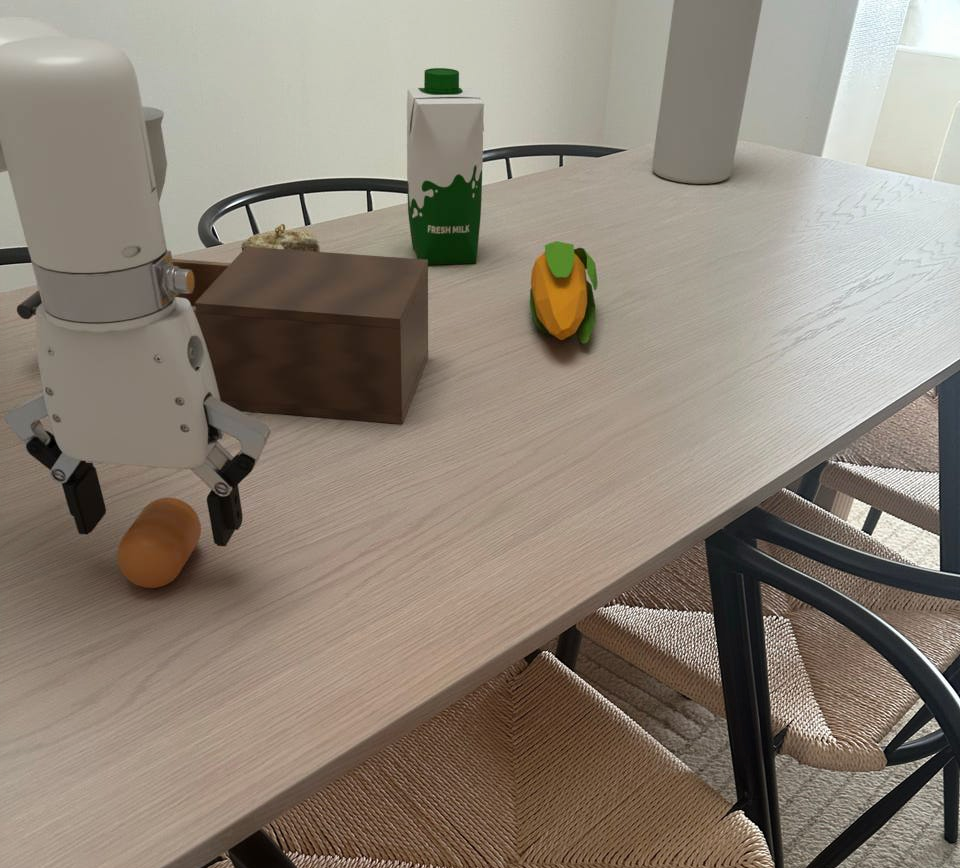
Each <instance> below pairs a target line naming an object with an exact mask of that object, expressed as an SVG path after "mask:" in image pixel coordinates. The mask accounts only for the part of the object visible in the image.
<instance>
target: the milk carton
mask: <svg viewBox="0 0 960 868" xmlns="http://www.w3.org/2000/svg"><path fill="white" fill-rule="evenodd" d="M423 75H424V79H423V82H424V83H423V85H424V86H423V87H417V88H407V98H406V174H407V175H406V176H407V177H406V178H407V179H406V181H407V214H408V216H407V217H408V222H409V229H410V231H409V232H410V239H411V246H412V249H413V251H414V253H415V255H416V257H417V259H425V260H428V266H438V265H440V266H443V265H465V264H467V265H468V264H477V260H478V249H479V240H480V239H479V238H480V230H481V229H480V228H481V219H482V218H481V217H482V216H481V214H482V199H483V197H482V193H483V192H482V191H483V165H484V164H483V163H484V132H485V124H484V123H485V122H484V114H485V113H484V111H485V110H484V108H485V103H484V102H483V101H482V99H481V97H480V95H479V94H477V93H476V92H475V91H473V89H472V88H467V87H465V88H461V87H460V71H459V70H457V69H454V68H445V67H433V68H427V69H425V70H424V74H423Z"/></svg>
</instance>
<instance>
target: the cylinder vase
mask: <svg viewBox="0 0 960 868" xmlns="http://www.w3.org/2000/svg"><path fill="white" fill-rule="evenodd" d="M762 7H763V0H673V4H672V12H671V19H670V28H669V34H668V42H667V50H666V57H665V65H664V72H663V81H662V87H661V96H660V103H659V104H660V105H659V110H658V118H657V126H656V133H655V140H654V149H653V155H652V164H651V167H652V171H653V173H655V175H657V176H658V177H660V178H663V179H665V180H669V181H672V182H675V183H676V182H677V183H681V184H682V183H683V184H692V185H706V184H707V185H710V184H717V183H721V182H723V181H725V180H727V179H729V178H730V177H731V175H732V173H733V171H732V170H733V167H734V161H735V156H736V149H737V145H738V140H739V135H740V134H739V133H740V128H741V123H742V122H741V121H742V117H743V111H744V105H745V101H746V94H747V89H748V85H749V84H748V83H749V77H750V73H751V66H752V61H753V57H754V56H753V55H754V51H755V50H754V49H755V45H756V37H757V33H758V28H759V22H760V16H761V11H762Z"/></svg>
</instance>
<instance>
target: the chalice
mask: <svg viewBox="0 0 960 868" xmlns="http://www.w3.org/2000/svg"><path fill="white" fill-rule="evenodd" d="M142 108H143V114H144V120H145V125H146V131H147V137H148V143H149V148H150V154H151V160H152V165H153V171H154V177H155V183H156V188H157V194H158V200H159V202H160V201H161V197H162V194H163V190H164V186H165V183H166V175H167V169H168V168H167V167H168V159H167V154H166V147H165V141H164V140H165V139H164V135H163V127H162V124H163V123H162V122H163V119H164V116H165V112H164V111H163V110H161V109H159V108H156V107H151V106H142Z"/></svg>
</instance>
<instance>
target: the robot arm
mask: <svg viewBox="0 0 960 868" xmlns="http://www.w3.org/2000/svg"><path fill="white" fill-rule="evenodd" d="M140 91H141V90H140V86H139V81H138V77H137V72H136V69H135V68H134V64H133V63H132V62H131V60H130V58H129V57H128V55H127V54H126V53H125V52H124V51H123V50H122V49H121V48H120V47H118V46H117V45H115V44H114V43H111V42H108V41H105V40H102V39H97V38H92V37H80V36H70V35H68V34H67V33H65V32H63V31H62V30H60V29H59V28H57V27H56V26H54V25H52V24H51V23H48V22H46V21H44V20H41V19H38V18H34V17H29V16H20V15H15V16H14V15H10V16H9V15H8V16H6V15H5V16H0V173H3V172H7V173H8V177H9V180H10V184H11V188H12V192H13V196H14V200H15V204H16V209H17V212H18V215H19V219H20V223H21V227H22V231H23V235H24V239H25V243H26V246H27V250H28V253H29V257H30V262H31V265H32V269H33V273H34V277H35V280H36V281H35V282H36V285H37V289H38V290H39V293H40V296H41V300H42V304H40V305H39V306H38V308H37V309H36V315H35V337H36V338H35V339H36V341H35V343H36V353H37V362H38V370H39V377H40V383H41V388H42V392H40V393H38V394H36V395H33V396H31V397H30V398H28V399H26V400H24V401H22V402H20V403H18V404H16V405H15V406H14V407H13V408H11V409H10V410H9V411H8V412H7V413H6V414H5V415H4V421H5V422H6V424H7V425H8V426H9V427H10V429H11V430H12V431H13V433H14V434H15V435H16V436H17V438H19V440H20V441H21V442H24V444H25V449H26V451H27V453H28V454H29V455H30V456H31V457H33V458H34V459H35V460H37V461H38V462H39V463H40V464H42V465H43V466H44V467H45V468H47V469H48V470H49V476H50V477H51V479H52V480H53V481H55V482H56V483H58V484H61V486H62V489H63V493H64V497H65V500H66V504H67V508H68V511H69V514H70V516H71V517H73V519H74V523H75V527H76V530H77V533H78V534H79V535H86V536H87V535H89V534H91V533H92V532H93V530H94V529H95V528H96V527H97V526H98V524H99V523H100V522H101V521H102V519H103V518H104V516H105V515H106V514H107V507H106V504H105V499H104V495H103V492H102V487H101V483H100V480H99V475H98V472H97V471H98V470H97V468H96V467H95V465H94V463H96V464H97V463H98V464H107V465H110V464H111V465H119V466H131V467H132V466H133V467H145V468H155V469H156V468H159V469H173V470H190V471H192V473H194V475H196V476H197V477H198V478H199V479H200V480H201V481H202V482H203V484H205V485H206V486H207V487H208V488H209V489H210V491H209V493H208V495H207V496H206V504H207V511H208V516H209V521H210V527H211V534H212V537H213V543H214V544H215V545H216V546H217V547H227V545H228V544H229V541H230V540H231V538H232V536H233V535H234V533H235V531H238V530H240V528H241V525H242V523H243V510H242V502H241V497H240V495H241V494H240V489H239V484H240V483H241V482H242V481H243V480H244V479H246V478H247V477H248V476H249V475H250V473H252V471H253V470H254V468H255V466H256V465H257V463H258V462H259V459H260V457H261V454H262V452H263V450H264V448H265V447H266V444H267V441H268V440H269V438H270V435H271V429H270V427H269V426H268V425H267V424H265V423H263V422H261V421H260V420H258V419H256V418H254V417H252V416H250V415H248V414H247V413H244V412H243V411H241V410H237V409H235V408H233V407H231V406H229V405H227V404H225V403H223V402H222V401H221V400H220V396H219V391H218V387H217V383H216V379H215V375H214V371H213V367H212V363H211V360H210V356H209V353H208V350H207V346H206V343H205V340H204V337H203V334H202V332H201V329H200V326H199V323H198V321H197V318H196V316H195V313H194V311H193V308H192V306H191V304H190V302H189V300H187V299H185V298H180V297H176V296H177V295H180V294H181V293H192V292H193V290H194V286H195V280H194V275H193V272H192V270H189V269H180V267H178V266H174V264H173V261H172V259H173V257H172V255H173V254H172V251H171V250H168V248H167V243H166V236H165V231H164V224H163V219H162V212H161V207H160V201H159V200H158V194H157V188H156V183H155V177H154V171H153V165H152V160H151V154H150V148H149V143H148V137H147V131H146V125H145V120H144V114H143V108H142V107H143V103H142V98H141V92H140ZM46 417H48V421H49V425H50V428H51V431H52V432H50V431H49V430H46V429H45V428H44V425H43V424H42V423H41V420H42V419H44V418H46ZM225 434H226V435H228V436H230V437H233V438H235V439H236V440H237V441H239V443H240V449H239V452H238V453H237V454H236V455H235V456H233V455H232V454H231V453H230V452H229V451H228V450H227V449H226V447H224V446H223V445H222V444H221V443H220V442H219V440H222V439H223V437H224V435H225Z"/></svg>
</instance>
